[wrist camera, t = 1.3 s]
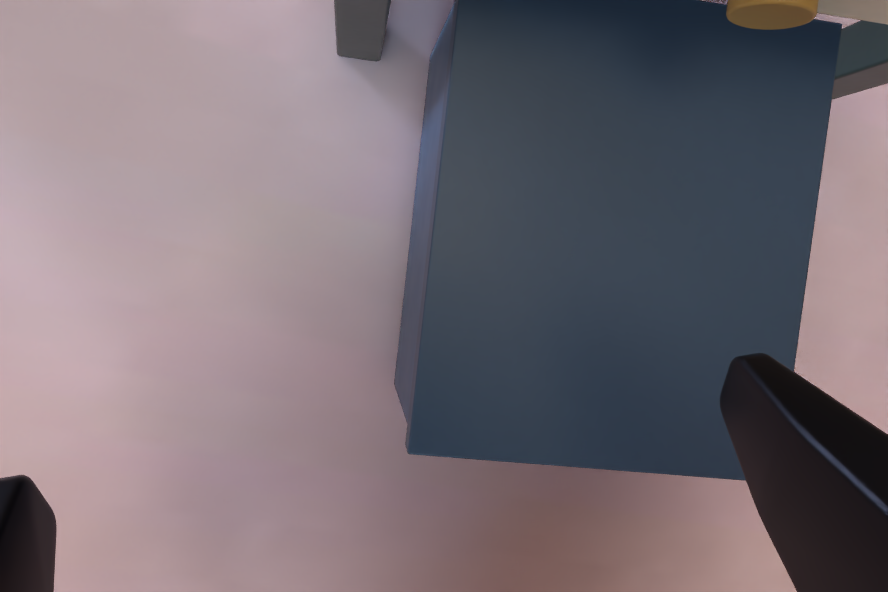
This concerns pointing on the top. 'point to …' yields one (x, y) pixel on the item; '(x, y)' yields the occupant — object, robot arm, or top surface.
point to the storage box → (607, 228)
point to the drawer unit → (749, 5)
